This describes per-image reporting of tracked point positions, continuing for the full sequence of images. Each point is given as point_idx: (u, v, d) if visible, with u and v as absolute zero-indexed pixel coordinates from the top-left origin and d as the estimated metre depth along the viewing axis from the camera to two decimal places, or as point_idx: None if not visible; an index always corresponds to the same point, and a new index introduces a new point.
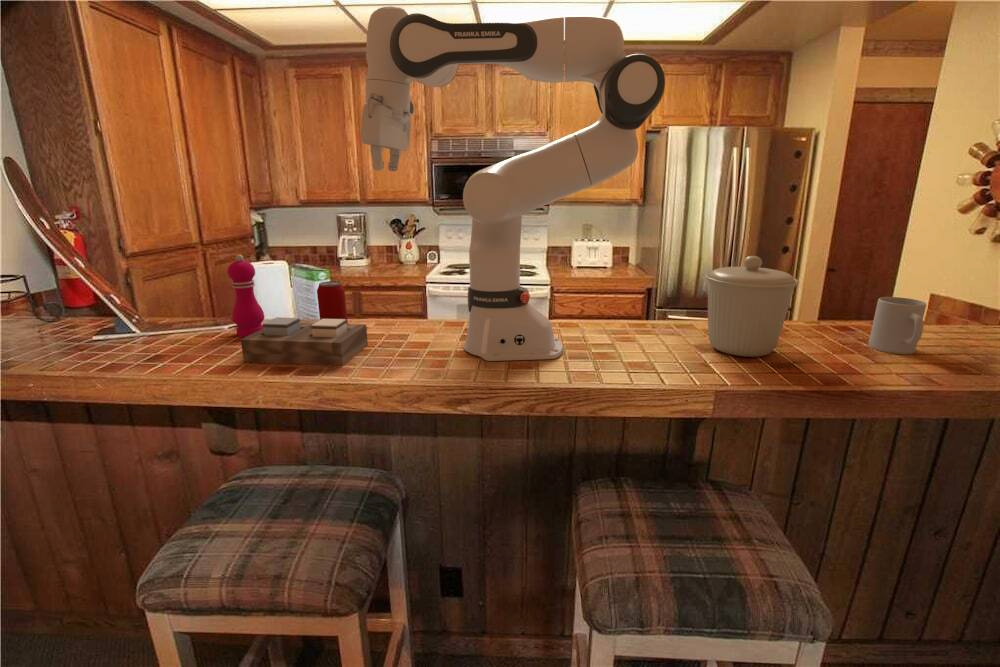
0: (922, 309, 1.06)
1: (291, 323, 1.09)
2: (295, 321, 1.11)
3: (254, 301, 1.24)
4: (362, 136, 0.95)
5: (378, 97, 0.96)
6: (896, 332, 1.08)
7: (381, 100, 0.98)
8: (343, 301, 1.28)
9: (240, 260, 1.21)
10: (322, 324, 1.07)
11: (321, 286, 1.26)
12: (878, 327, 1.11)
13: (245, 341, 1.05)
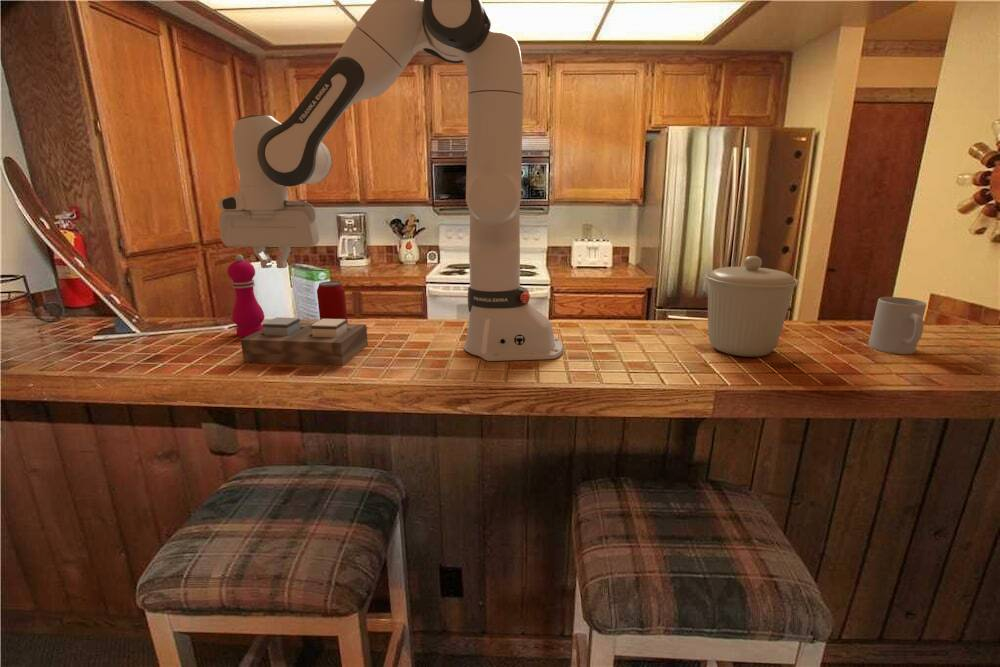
0: (922, 309, 1.06)
1: (291, 323, 1.09)
2: (295, 321, 1.11)
3: (254, 301, 1.24)
4: (312, 240, 1.03)
5: None
6: (896, 332, 1.08)
7: None
8: (343, 301, 1.28)
9: (240, 260, 1.21)
10: (322, 324, 1.07)
11: (321, 286, 1.26)
12: (878, 327, 1.11)
13: (245, 341, 1.05)
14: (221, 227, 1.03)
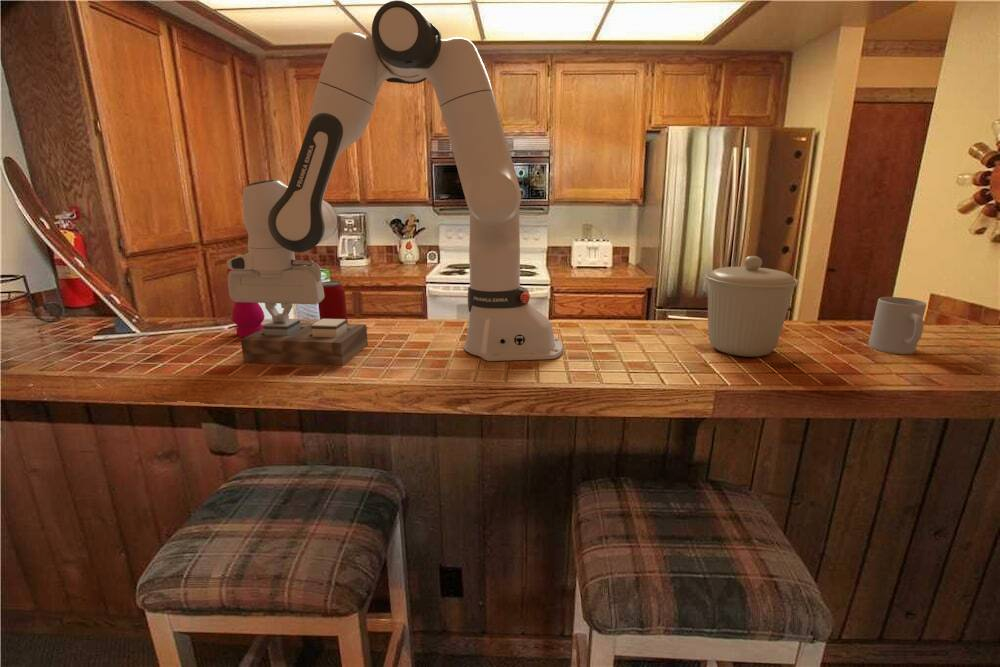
0: (922, 309, 1.06)
1: (291, 325, 1.10)
2: (295, 323, 1.11)
3: None
4: (318, 298, 1.06)
5: None
6: (896, 332, 1.08)
7: None
8: (343, 301, 1.28)
9: None
10: (322, 324, 1.07)
11: None
12: (878, 327, 1.11)
13: (245, 341, 1.05)
14: (230, 284, 1.07)
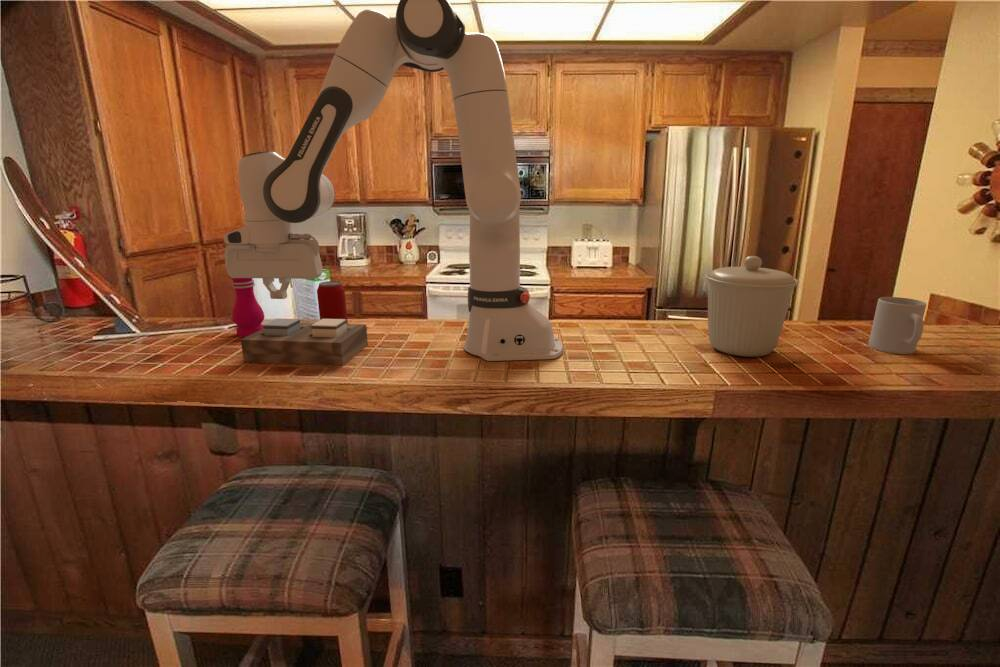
0: (922, 309, 1.06)
1: (291, 324, 1.10)
2: (295, 322, 1.11)
3: (254, 301, 1.24)
4: (316, 272, 1.05)
5: None
6: (896, 332, 1.08)
7: None
8: (343, 301, 1.28)
9: None
10: (322, 324, 1.07)
11: (321, 286, 1.26)
12: (878, 327, 1.11)
13: (245, 341, 1.05)
14: (226, 260, 1.05)
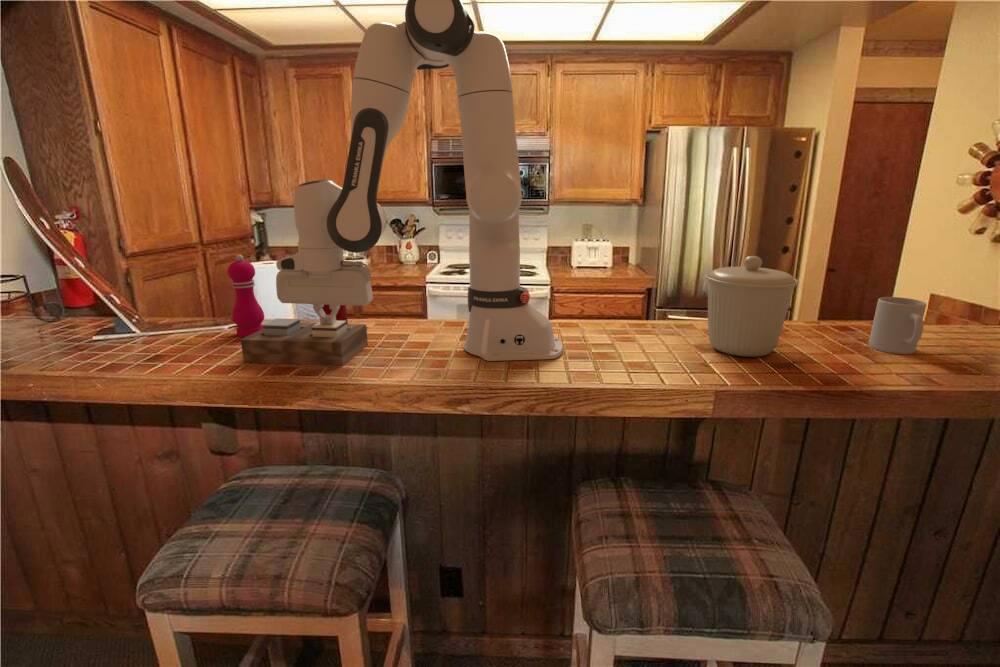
0: (922, 309, 1.06)
1: (291, 324, 1.10)
2: (295, 322, 1.11)
3: (254, 301, 1.24)
4: (368, 300, 1.05)
5: None
6: (896, 332, 1.08)
7: None
8: None
9: (240, 260, 1.21)
10: (322, 326, 1.07)
11: None
12: (878, 327, 1.11)
13: (245, 341, 1.05)
14: (278, 285, 1.06)
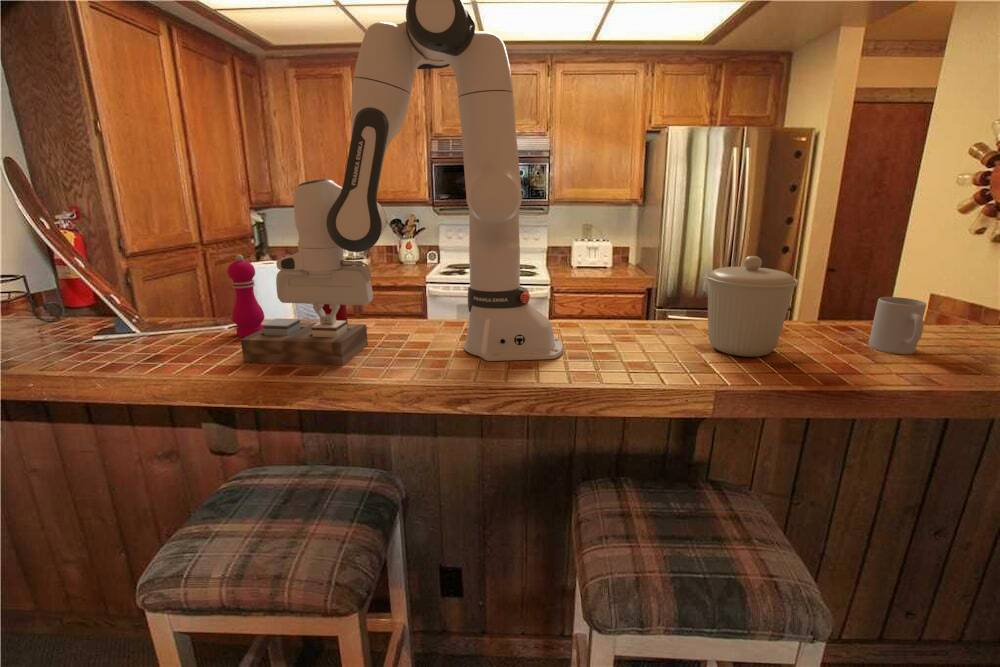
0: (922, 309, 1.06)
1: (291, 324, 1.10)
2: (295, 322, 1.11)
3: (254, 301, 1.24)
4: (368, 299, 1.05)
5: None
6: (896, 332, 1.08)
7: None
8: None
9: (240, 260, 1.21)
10: (322, 326, 1.07)
11: None
12: (878, 327, 1.11)
13: (245, 341, 1.05)
14: (278, 285, 1.06)
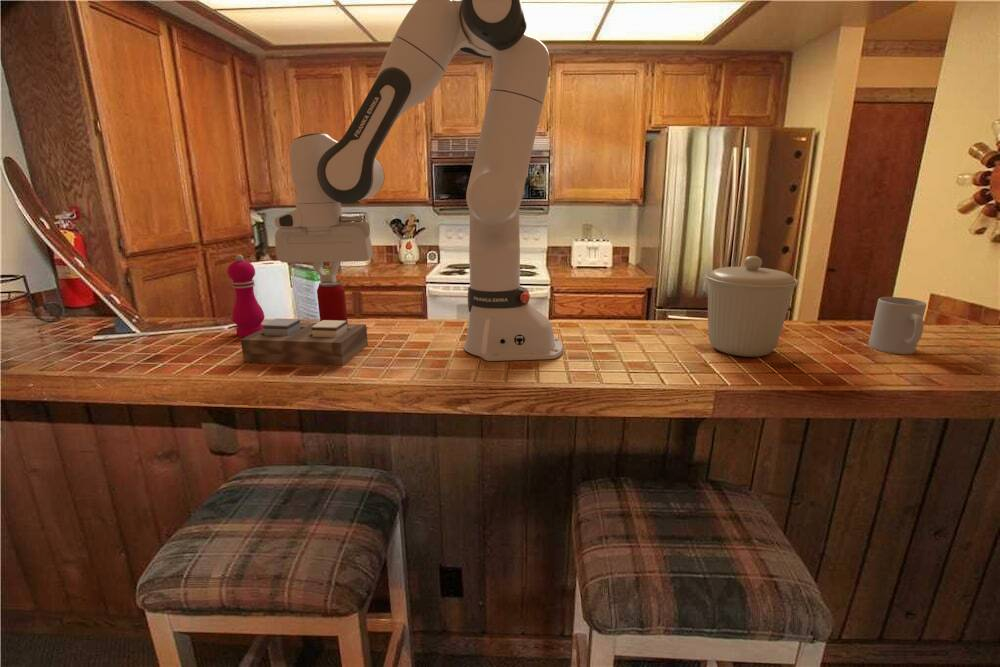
0: (922, 309, 1.06)
1: (291, 324, 1.10)
2: (295, 322, 1.11)
3: (254, 301, 1.24)
4: (368, 255, 1.05)
5: None
6: (896, 332, 1.08)
7: None
8: (343, 301, 1.28)
9: (240, 260, 1.21)
10: (322, 326, 1.07)
11: (321, 286, 1.26)
12: (878, 327, 1.11)
13: (245, 341, 1.05)
14: (277, 244, 1.05)
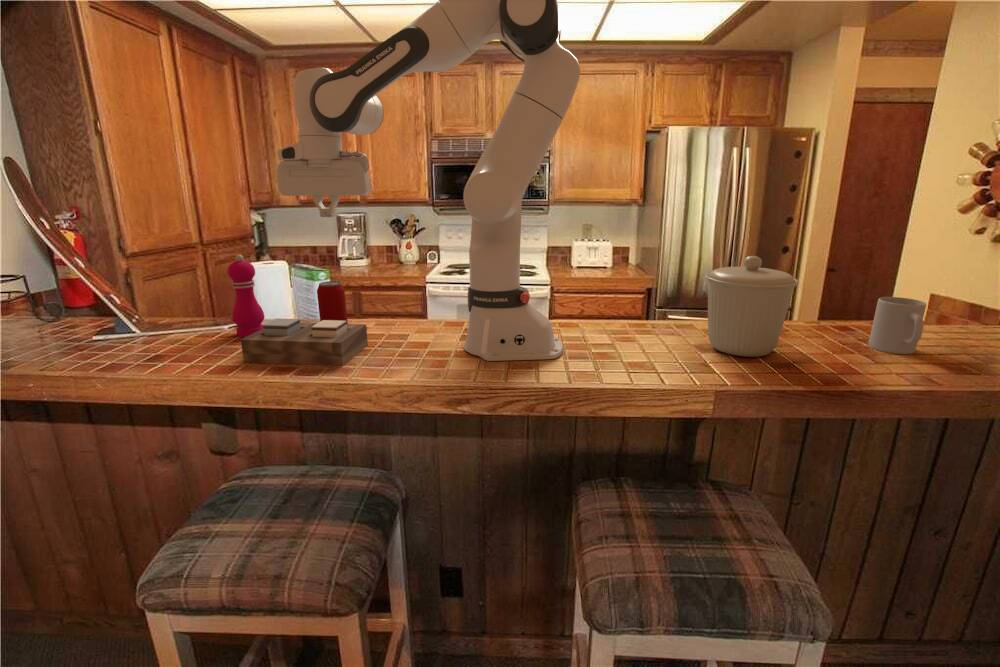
0: (922, 309, 1.06)
1: (291, 324, 1.10)
2: (295, 322, 1.11)
3: (254, 301, 1.24)
4: (366, 189, 1.09)
5: None
6: (896, 332, 1.08)
7: None
8: (343, 301, 1.28)
9: (240, 260, 1.21)
10: (322, 326, 1.07)
11: (321, 286, 1.26)
12: (878, 327, 1.11)
13: (245, 341, 1.05)
14: (279, 176, 1.09)
